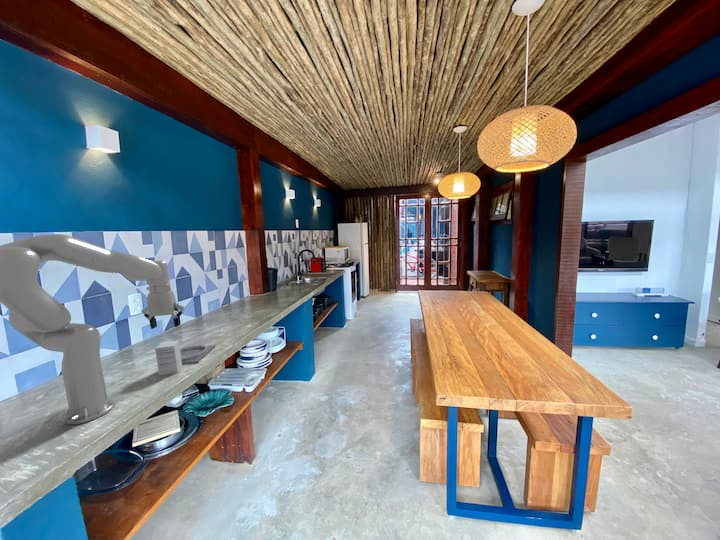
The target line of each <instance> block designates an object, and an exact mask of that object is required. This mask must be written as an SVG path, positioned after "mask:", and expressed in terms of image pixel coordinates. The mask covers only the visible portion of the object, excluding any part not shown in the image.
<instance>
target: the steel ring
mask: <svg viewBox="0 0 720 540" xmlns="http://www.w3.org/2000/svg"><path fill="white" fill-rule="evenodd" d="M207 346H208V345H205V344H194V345H193V344H192V345H189V346H185V347H182V348H181V347H180V353H181V352H183V351H186V350H191V349H199V348H201V349H204V350H203V351H202V352H199V353H197V354H194V355H190V356H181V360H189V359H193V358H197V357H199V356H202V355H204V354H205V353H206V352H208V347H207Z"/></svg>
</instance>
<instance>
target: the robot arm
mask: <svg viewBox="0 0 720 540" xmlns="http://www.w3.org/2000/svg"><path fill="white" fill-rule="evenodd" d="M48 261H49V262H50V261H51V262H52V261H57V262H62V263H64V264H65V263H66V264H69V265H73V266H76V267H77V266H78V267H81V268H84V269H88V270H92V271H94V272H101V273H110V274H111V273H112V274H122V277H123V278H124V279H125V280H128V281H132V282H147V283H148V286H147V287H146V289H145V290H147V291H149V292H148V293H147V298H146V302H147V304H146V305H147V306H146V307H145V308H143V309H141V313H142V315H144V317H145V318H146V319H147V321H149V326H150V329H152V330H153V329H155V328H157V327H158V323H157V318H156V317H160V316H161V317H162V316H170V315H171V316H172V317H174V318H173V324H174V325H173V326H174V327H175V328H176V327H179V326H180V325H181V319H180V317H181V316H182V315H183V313H184V311H185V309H186V307H185V306H183V305H181V304H178V303H177V300H176V296H175V293H174V292H173V290H171V289H172V288H171V281H170V275H169V269H168V268H169V267H168V262H167V261H166V260H164V259H163V260H162V259H161V260H149V259H147V258H144V257H141V256H138V255H133V254H130V253H125V252H120V251H118V250H113V249H109V248H105V247H102V246H100V245H96V244H94V243H91V242H88V241H85V240H83V239H80V238H76V237H75V236H74V237H73V236H71V235H66V234H62V233H56V234H55V233H54V234H52V233H51V234H40V235H36V236H32V237H28V238H24V239H20V240H17V241H13V242H9V243H3V244H0V303H1V304H2V305H3V306H4V307H5V308H7V309H8V310H9V311H10V312H9V314H8V322H9V324H10V326H11V327H12V328H13V329H14V330H15V331H17V332H18V333H20V334H22V335H23V336H24V337H26V338H27V339H29V340H30V341H31V342H33V343H35V344H36V345H37V346H40V347H41V348H43V349H45V350H47V351H51V352H58V353H62V354H63V356H62V359H61V374H62V377H63V384H64V390H65V394H66V399H67V405H68V408H67V409H66V414H65V415H64V416H63V417H61V418H60V419H59V420H57V421H56V425H57V426H58V427H61V426H64V425H65V424H66V425H79V424H83V423H87V422H90V421H93V420H95V419H98V418H100V417H102V416H104V415H106V414H107V413H108V412H110V411H112V409H113V408H114V407H115V401H114V400H112V399H109V398H108V395H107V388H106V384H105V383H106V381H105V377H104V370H103V365H102V360H101V339H102V338H101V333H100V330H98V329H97V328H96V327H95V326H93V325H90V324H86V323H75V322H73V323H72V322H71V320H72V315H71V312H70V311H69V309H68V308H67V307H66V306H64V305H63V304H62V303H60V302H59V301H58V300H57V299H56V298H54V297H53V296H52V295H51V294H49V293H48V292H47V291H46V290H45V289H44V288H43V287H42V286H41V285H40V283H39V282H38V273H39V270H40V268H41V264H42V263H46V262H48ZM178 309H179V311H178Z"/></svg>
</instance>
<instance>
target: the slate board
mask: <svg viewBox="0 0 720 540" xmlns="http://www.w3.org/2000/svg"><path fill="white" fill-rule="evenodd" d="M206 346H207V347H208V352H206V353H205V354H204V355H202V356H199V357H197V358H193V359H189V360H182V365H191V364H199V363H200V362H201V361H202V360H203V359H204V358H205V357H206V356H207V355H208V354H209V353H210V352H211V351H212V350H213V349H215V348H216V345H215V344H210V345H206ZM203 350H204V349H201V348H199V349H191V350H186V351H183V352H181V356H190V355H194V354H197V353H199V352H202V351H203ZM201 359H202V360H201ZM200 360H201V361H200ZM199 361H200V362H199Z"/></svg>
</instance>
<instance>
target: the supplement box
mask: <svg viewBox="0 0 720 540" xmlns="http://www.w3.org/2000/svg"><path fill="white" fill-rule="evenodd" d="M154 349H155V356H156V363H157V370H158V375H159V376H165V375H166V376H167V375H171V374H172V375H173V374H178V373H179V372H180V370H181V369H182V367H183V364H182V360H181V353H180V349H181V347H180V341H179V340H170V341H164V342H160V343H159V344H158V345H157V346H156V347H155V348H154Z"/></svg>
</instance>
